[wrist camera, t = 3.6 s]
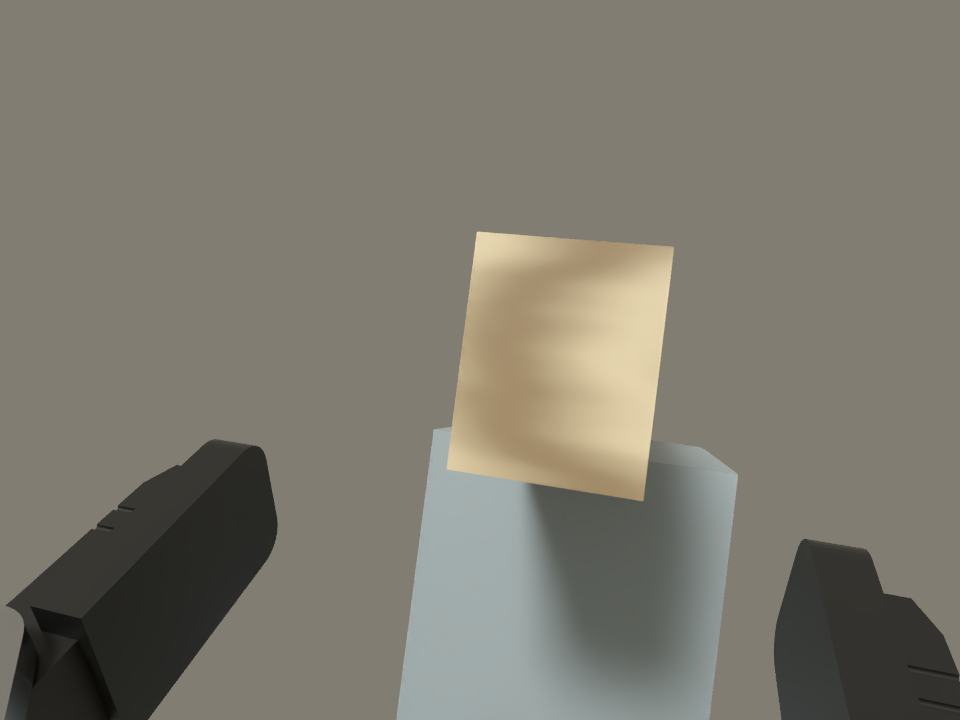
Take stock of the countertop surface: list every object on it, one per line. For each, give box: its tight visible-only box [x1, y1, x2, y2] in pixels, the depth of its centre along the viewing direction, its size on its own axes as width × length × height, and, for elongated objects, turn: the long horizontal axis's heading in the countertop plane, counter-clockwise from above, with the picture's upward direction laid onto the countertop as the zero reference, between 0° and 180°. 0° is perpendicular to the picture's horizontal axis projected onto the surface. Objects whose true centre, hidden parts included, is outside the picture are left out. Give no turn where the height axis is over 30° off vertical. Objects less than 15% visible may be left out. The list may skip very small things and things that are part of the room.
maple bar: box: [447, 232, 674, 501], centre depth 25 cm, size 4×24×5 cm, turn 167°
